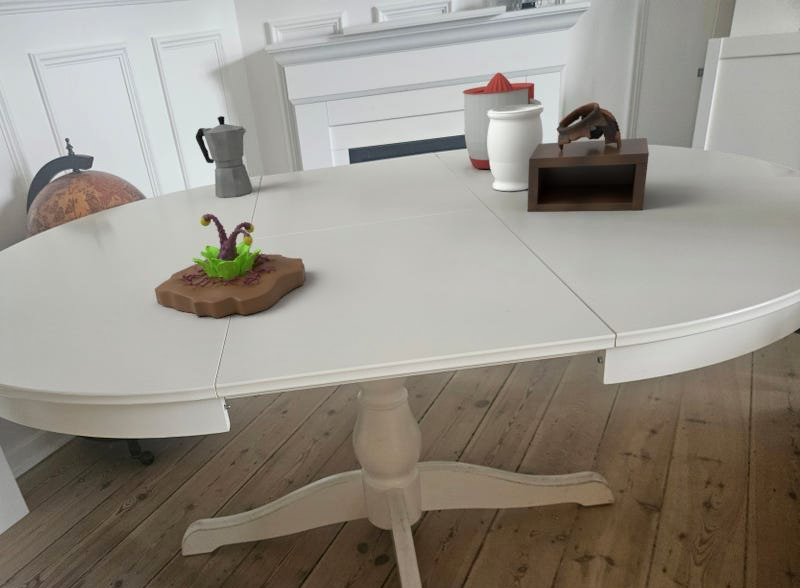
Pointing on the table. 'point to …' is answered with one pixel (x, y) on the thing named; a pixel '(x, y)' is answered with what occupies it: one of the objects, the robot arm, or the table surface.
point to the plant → (231, 278)
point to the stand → (588, 176)
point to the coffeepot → (226, 158)
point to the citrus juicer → (481, 102)
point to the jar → (513, 144)
